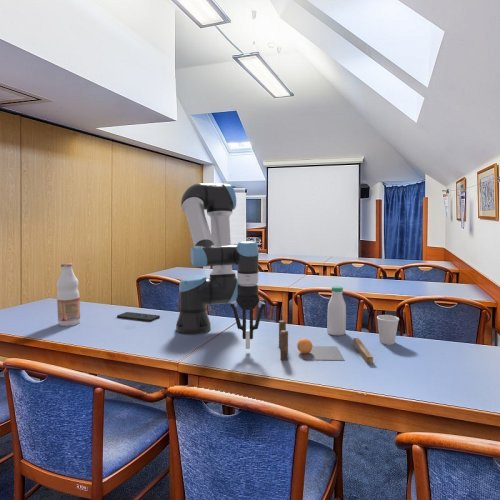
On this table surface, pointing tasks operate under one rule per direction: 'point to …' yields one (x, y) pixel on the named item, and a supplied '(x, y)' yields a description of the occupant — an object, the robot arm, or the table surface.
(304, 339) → the ball
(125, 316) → the smart home device
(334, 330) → the milk bottle
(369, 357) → the wall
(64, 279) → the fruit juice
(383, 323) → the dixie cup
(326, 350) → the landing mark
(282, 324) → the post
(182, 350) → the table surface
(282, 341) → the post
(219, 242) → the robot arm
